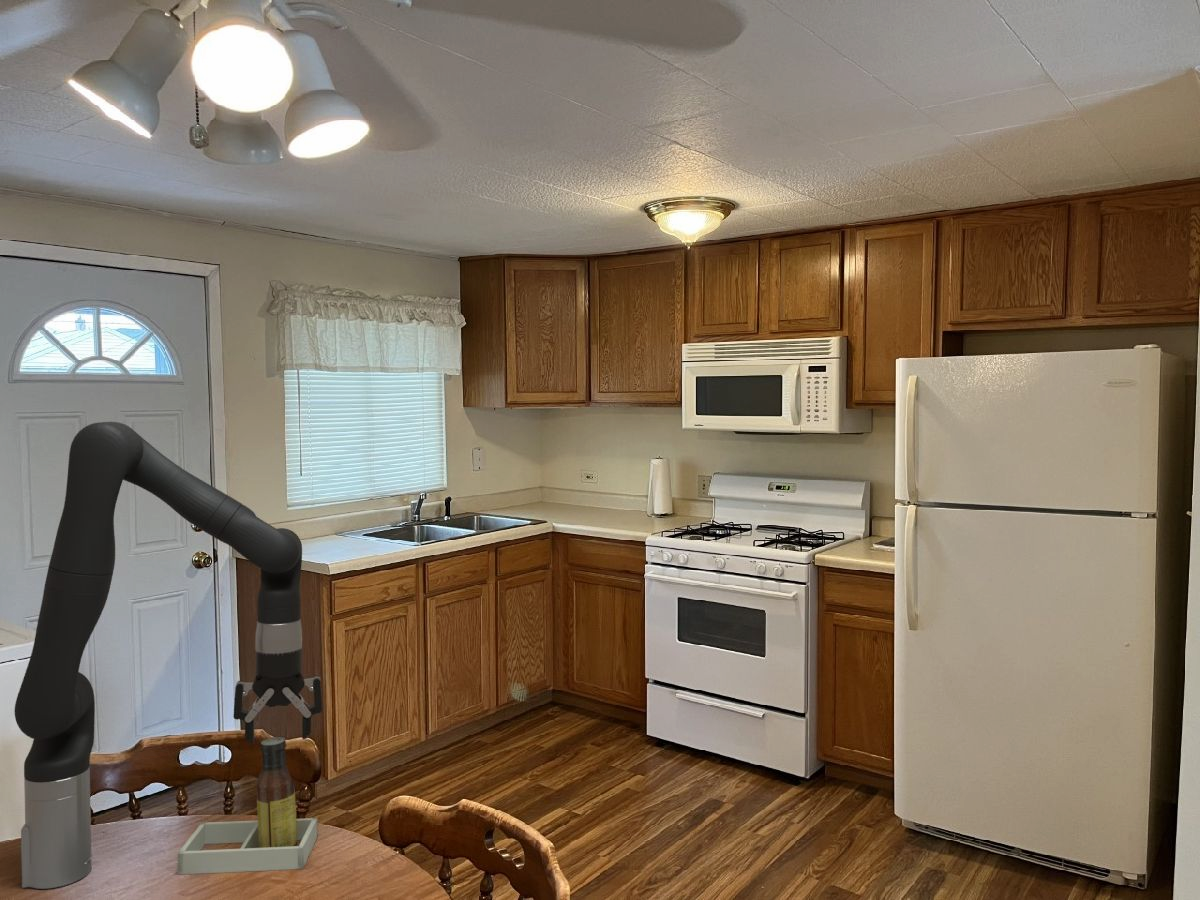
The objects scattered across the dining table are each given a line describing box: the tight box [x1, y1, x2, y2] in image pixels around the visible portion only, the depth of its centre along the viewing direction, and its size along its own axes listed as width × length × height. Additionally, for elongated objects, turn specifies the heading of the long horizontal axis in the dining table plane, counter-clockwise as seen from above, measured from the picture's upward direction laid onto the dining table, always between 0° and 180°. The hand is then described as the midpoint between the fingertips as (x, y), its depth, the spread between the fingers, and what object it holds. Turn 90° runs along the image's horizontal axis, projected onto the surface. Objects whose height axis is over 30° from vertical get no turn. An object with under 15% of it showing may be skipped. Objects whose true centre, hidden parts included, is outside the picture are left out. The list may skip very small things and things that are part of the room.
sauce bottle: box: [256, 736, 298, 848], centre depth 156 cm, size 7×6×20 cm
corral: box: [177, 817, 319, 876], centre depth 156 cm, size 20×12×4 cm, turn 96°
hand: (278, 739), depth 156 cm, fingers open, 8 cm apart
